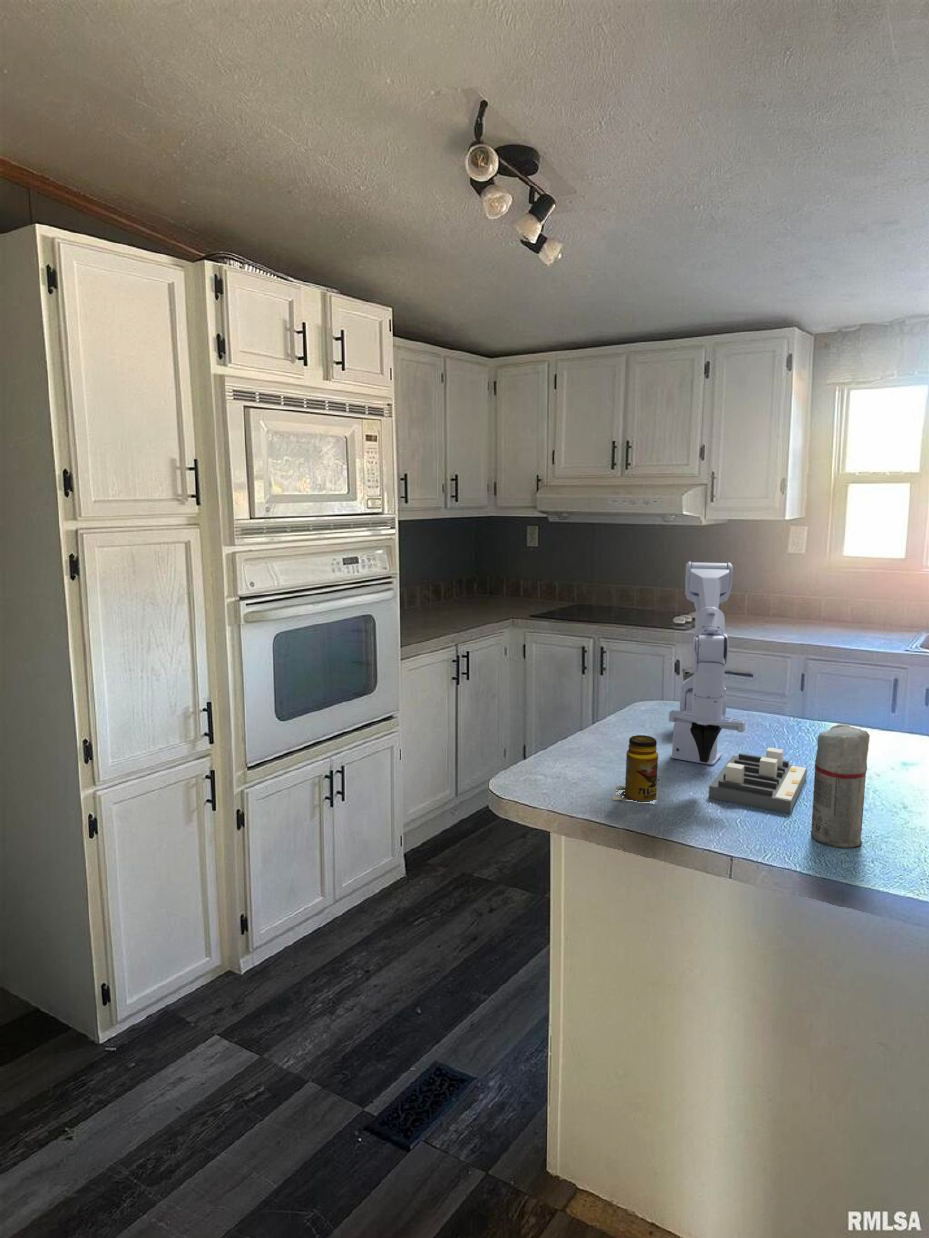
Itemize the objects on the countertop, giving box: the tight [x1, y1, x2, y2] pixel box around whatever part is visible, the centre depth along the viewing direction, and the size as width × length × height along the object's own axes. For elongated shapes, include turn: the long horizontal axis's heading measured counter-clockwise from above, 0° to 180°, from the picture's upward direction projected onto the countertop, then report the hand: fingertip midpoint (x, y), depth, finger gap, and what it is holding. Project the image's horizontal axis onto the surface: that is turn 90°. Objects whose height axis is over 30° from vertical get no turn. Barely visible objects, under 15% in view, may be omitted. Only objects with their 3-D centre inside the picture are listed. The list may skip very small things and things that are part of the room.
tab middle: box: [759, 756, 778, 778], centre depth 157 cm, size 3×2×4 cm
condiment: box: [612, 734, 660, 806], centre depth 154 cm, size 7×8×12 cm
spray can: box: [810, 723, 870, 849], centre depth 134 cm, size 8×8×20 cm
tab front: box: [725, 762, 745, 784], centre depth 154 cm, size 3×2×4 cm
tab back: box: [765, 746, 785, 767], centre depth 163 cm, size 3×2×4 cm
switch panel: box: [708, 753, 808, 814], centre depth 159 cm, size 15×21×3 cm
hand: (704, 760), depth 157 cm, fingers closed
